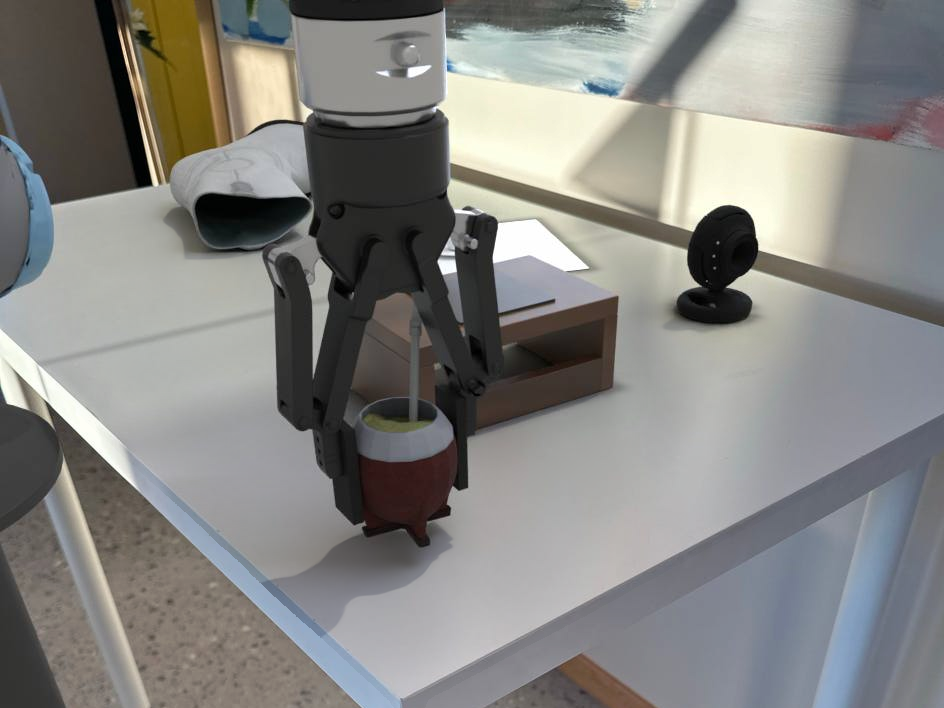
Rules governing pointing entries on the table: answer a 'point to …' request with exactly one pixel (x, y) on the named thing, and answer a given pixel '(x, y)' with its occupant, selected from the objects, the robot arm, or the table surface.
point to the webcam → (720, 265)
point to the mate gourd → (405, 458)
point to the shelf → (504, 341)
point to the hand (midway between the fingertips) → (402, 496)
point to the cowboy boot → (247, 187)
